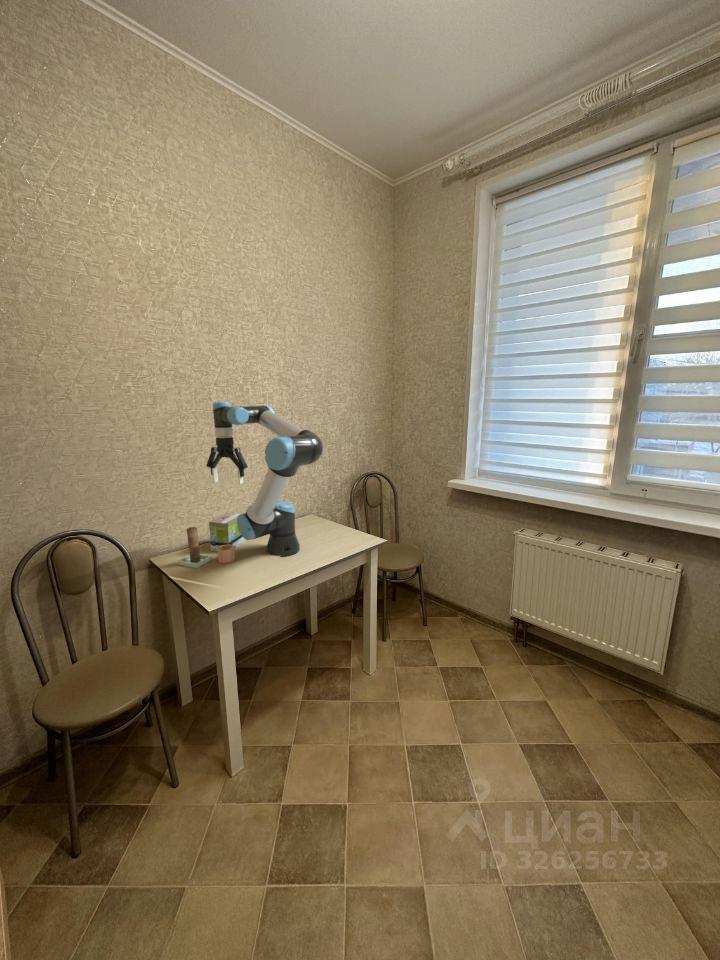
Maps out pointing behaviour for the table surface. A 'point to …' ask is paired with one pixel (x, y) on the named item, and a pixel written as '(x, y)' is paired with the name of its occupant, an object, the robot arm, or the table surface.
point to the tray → (188, 563)
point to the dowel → (193, 544)
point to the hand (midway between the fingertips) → (228, 482)
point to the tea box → (225, 531)
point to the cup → (226, 553)
